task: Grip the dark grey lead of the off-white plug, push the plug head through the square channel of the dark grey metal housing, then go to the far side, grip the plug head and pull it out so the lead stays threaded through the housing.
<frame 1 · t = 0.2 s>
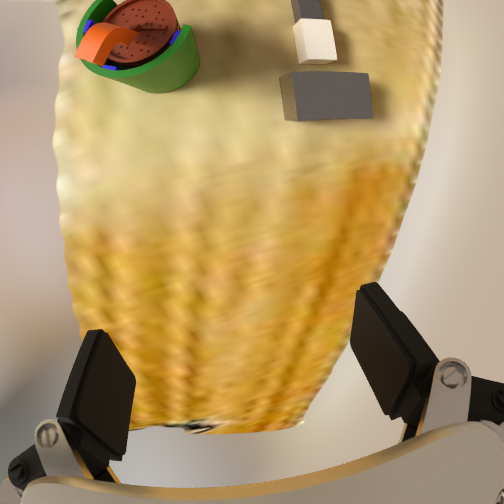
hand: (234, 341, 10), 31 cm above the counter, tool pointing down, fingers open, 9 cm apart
housing: (317, 97, 33), on the counter
motor: (161, 62, 29), on the counter
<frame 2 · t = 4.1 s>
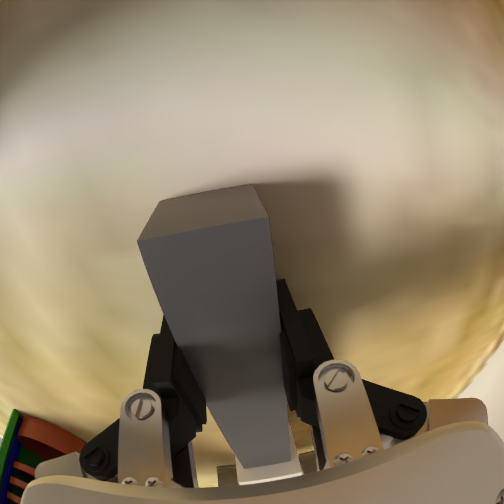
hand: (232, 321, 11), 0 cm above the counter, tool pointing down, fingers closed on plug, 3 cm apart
housing: (272, 468, 21), on the counter
motor: (58, 438, 17), on the counter
plug: (251, 392, 14), on the counter, touching gripper
when the fingers open (0 cm above the counter, at t = 7.3 s): plug stays where it is, on the counter.
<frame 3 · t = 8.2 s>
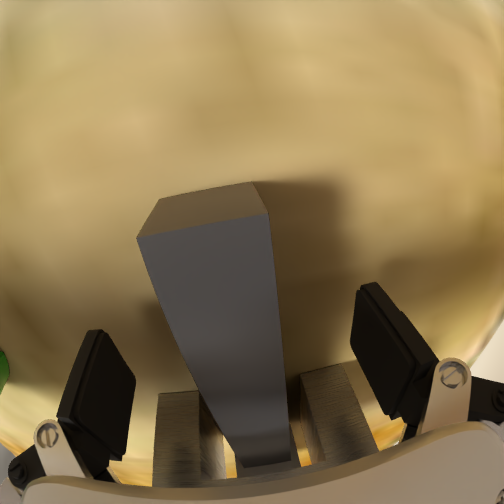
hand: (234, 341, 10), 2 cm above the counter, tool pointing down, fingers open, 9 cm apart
housing: (256, 410, 15), on the counter
plug: (251, 391, 14), on the counter
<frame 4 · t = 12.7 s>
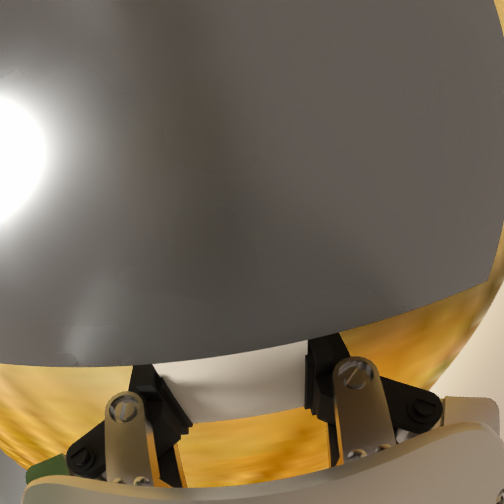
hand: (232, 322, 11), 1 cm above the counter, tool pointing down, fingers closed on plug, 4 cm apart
housing: (190, 112, 7), on the counter
plug: (181, 52, 6), on the counter, touching gripper
when the fingers open (1 cm above the counter, at t = 14.7 s): plug stays where it is, on the counter.
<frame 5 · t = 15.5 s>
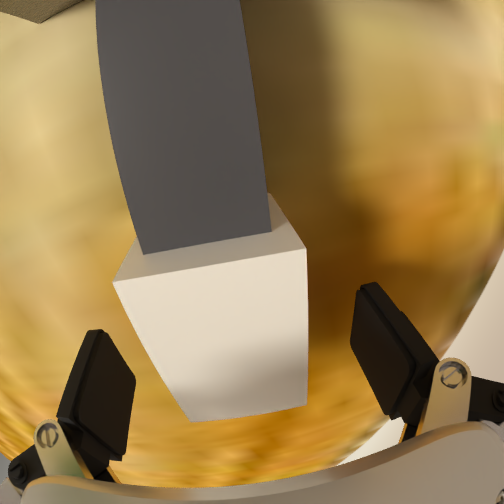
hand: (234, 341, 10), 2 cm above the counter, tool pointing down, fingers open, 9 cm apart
plug: (182, 51, 6), on the counter
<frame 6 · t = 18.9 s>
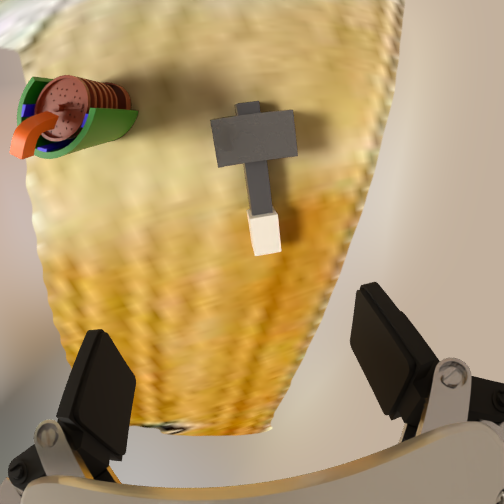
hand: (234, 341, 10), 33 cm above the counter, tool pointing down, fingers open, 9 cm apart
housing: (249, 134, 37), on the counter
motor: (106, 112, 33), on the counter
plug: (255, 176, 40), on the counter
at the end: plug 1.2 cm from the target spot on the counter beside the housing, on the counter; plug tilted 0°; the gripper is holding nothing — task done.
